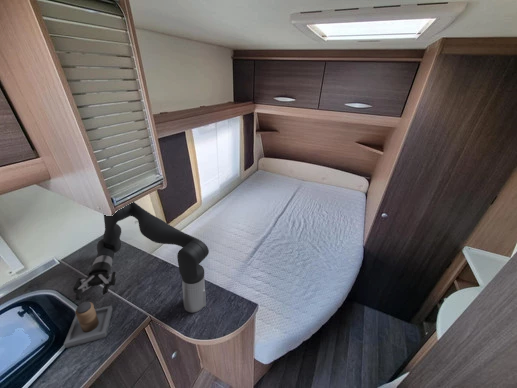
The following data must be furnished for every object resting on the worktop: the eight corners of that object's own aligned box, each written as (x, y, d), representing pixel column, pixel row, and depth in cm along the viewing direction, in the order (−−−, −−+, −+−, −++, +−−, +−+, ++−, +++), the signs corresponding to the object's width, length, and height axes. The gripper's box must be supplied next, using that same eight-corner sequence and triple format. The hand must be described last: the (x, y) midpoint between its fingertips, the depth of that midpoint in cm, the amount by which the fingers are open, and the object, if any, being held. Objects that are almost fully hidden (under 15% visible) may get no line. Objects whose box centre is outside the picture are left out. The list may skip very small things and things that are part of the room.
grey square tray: (112, 309, 88) (111, 305, 87) (105, 337, 78) (104, 333, 77) (77, 317, 83) (76, 313, 82) (65, 348, 74) (63, 344, 73)
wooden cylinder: (100, 317, 84) (94, 298, 79) (96, 329, 79) (90, 310, 75) (84, 321, 82) (77, 302, 77) (80, 334, 77) (72, 314, 73)
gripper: (80, 264, 92) (66, 294, 79) (117, 258, 98) (110, 285, 84) (84, 276, 95) (71, 307, 82) (120, 270, 101) (113, 297, 87)
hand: (91, 295), depth 83 cm, fingers open, 8 cm apart
